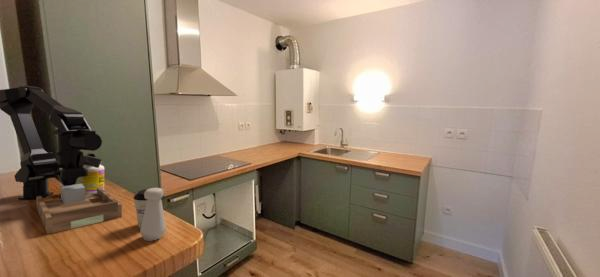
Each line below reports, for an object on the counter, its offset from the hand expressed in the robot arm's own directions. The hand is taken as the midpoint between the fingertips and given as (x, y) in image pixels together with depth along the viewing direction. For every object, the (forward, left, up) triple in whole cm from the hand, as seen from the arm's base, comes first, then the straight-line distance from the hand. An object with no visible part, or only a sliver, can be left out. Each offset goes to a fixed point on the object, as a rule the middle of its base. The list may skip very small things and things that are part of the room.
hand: (70, 193), depth 84 cm
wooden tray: (+10, +8, -3) cm, 14 cm away
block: (+4, +3, -1) cm, 5 cm away
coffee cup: (+21, +31, -3) cm, 38 cm away
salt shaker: (+29, +35, -3) cm, 46 cm away
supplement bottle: (-12, +1, -3) cm, 12 cm away
